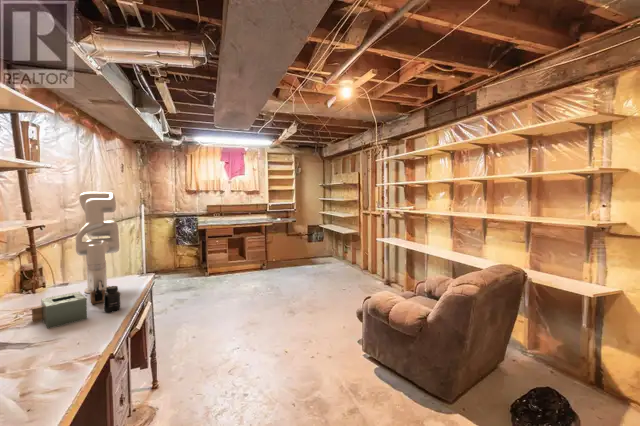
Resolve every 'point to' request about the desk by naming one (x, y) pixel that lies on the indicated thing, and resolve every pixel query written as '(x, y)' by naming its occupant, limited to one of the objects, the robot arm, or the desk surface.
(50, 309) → the box
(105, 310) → the supplement bottle
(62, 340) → the desk surface
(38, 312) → the token
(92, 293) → the block
